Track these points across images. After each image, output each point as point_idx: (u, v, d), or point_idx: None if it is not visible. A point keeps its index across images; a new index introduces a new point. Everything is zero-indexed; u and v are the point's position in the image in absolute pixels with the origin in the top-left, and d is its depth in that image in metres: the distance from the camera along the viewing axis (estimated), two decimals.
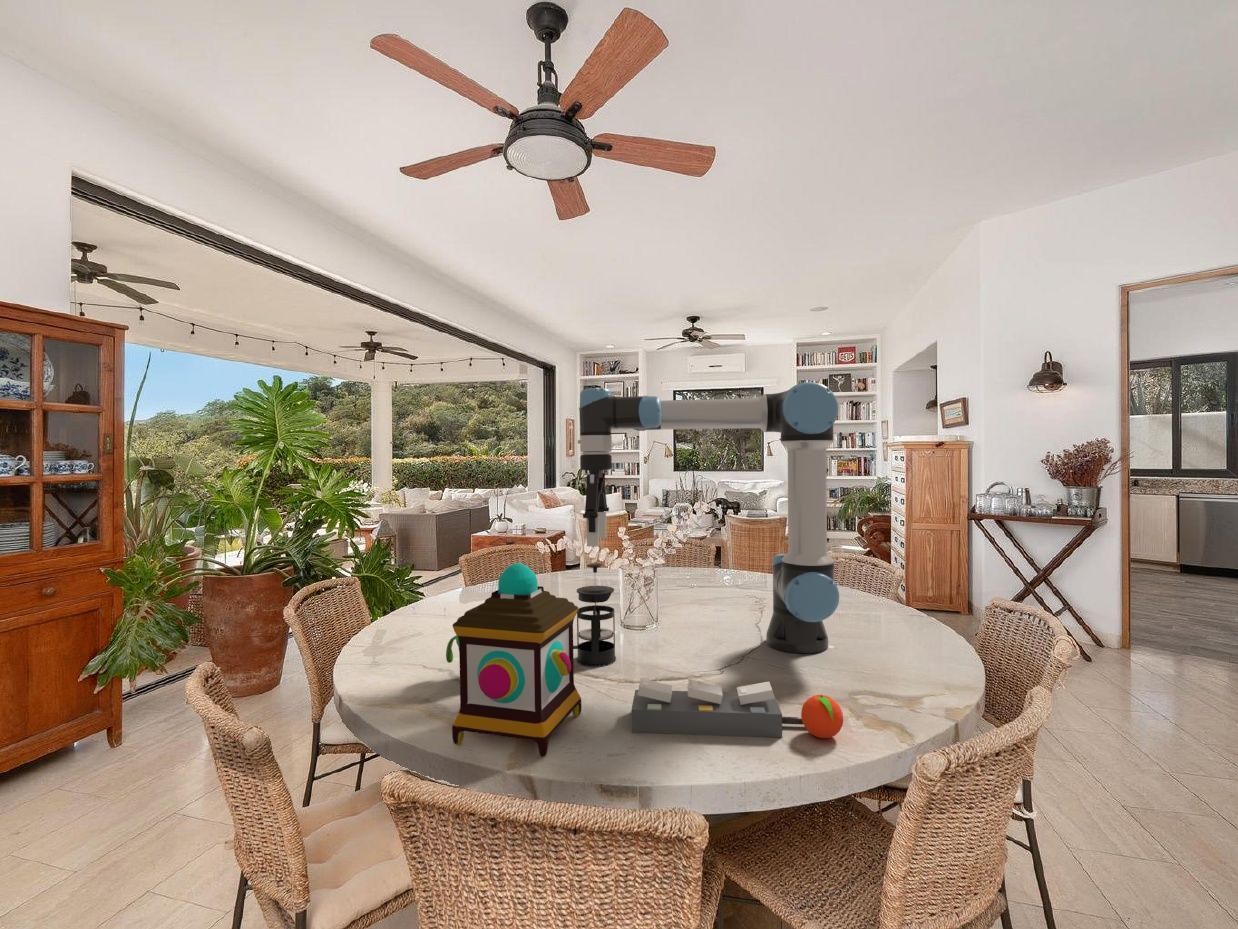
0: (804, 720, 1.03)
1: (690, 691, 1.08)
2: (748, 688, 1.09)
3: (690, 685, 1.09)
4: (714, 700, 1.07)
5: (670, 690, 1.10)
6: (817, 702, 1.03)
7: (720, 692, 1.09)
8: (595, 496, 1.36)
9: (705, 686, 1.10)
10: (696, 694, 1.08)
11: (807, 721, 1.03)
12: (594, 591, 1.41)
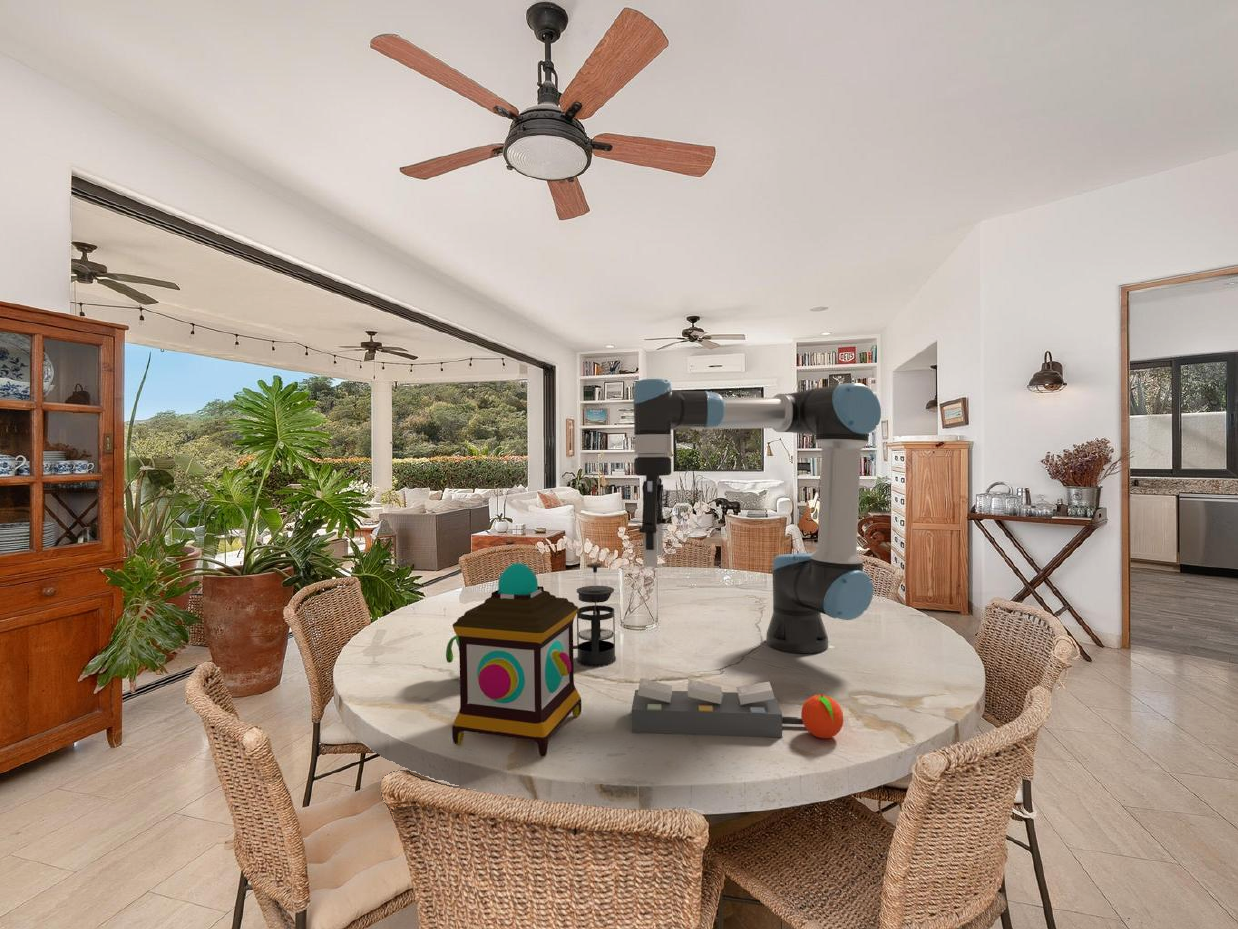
0: (804, 720, 1.03)
1: (690, 691, 1.08)
2: (748, 688, 1.09)
3: (690, 685, 1.09)
4: (714, 700, 1.07)
5: (670, 690, 1.10)
6: (817, 702, 1.03)
7: (720, 692, 1.09)
8: (654, 507, 1.15)
9: (705, 686, 1.10)
10: (696, 694, 1.08)
11: (807, 721, 1.03)
12: (594, 591, 1.41)
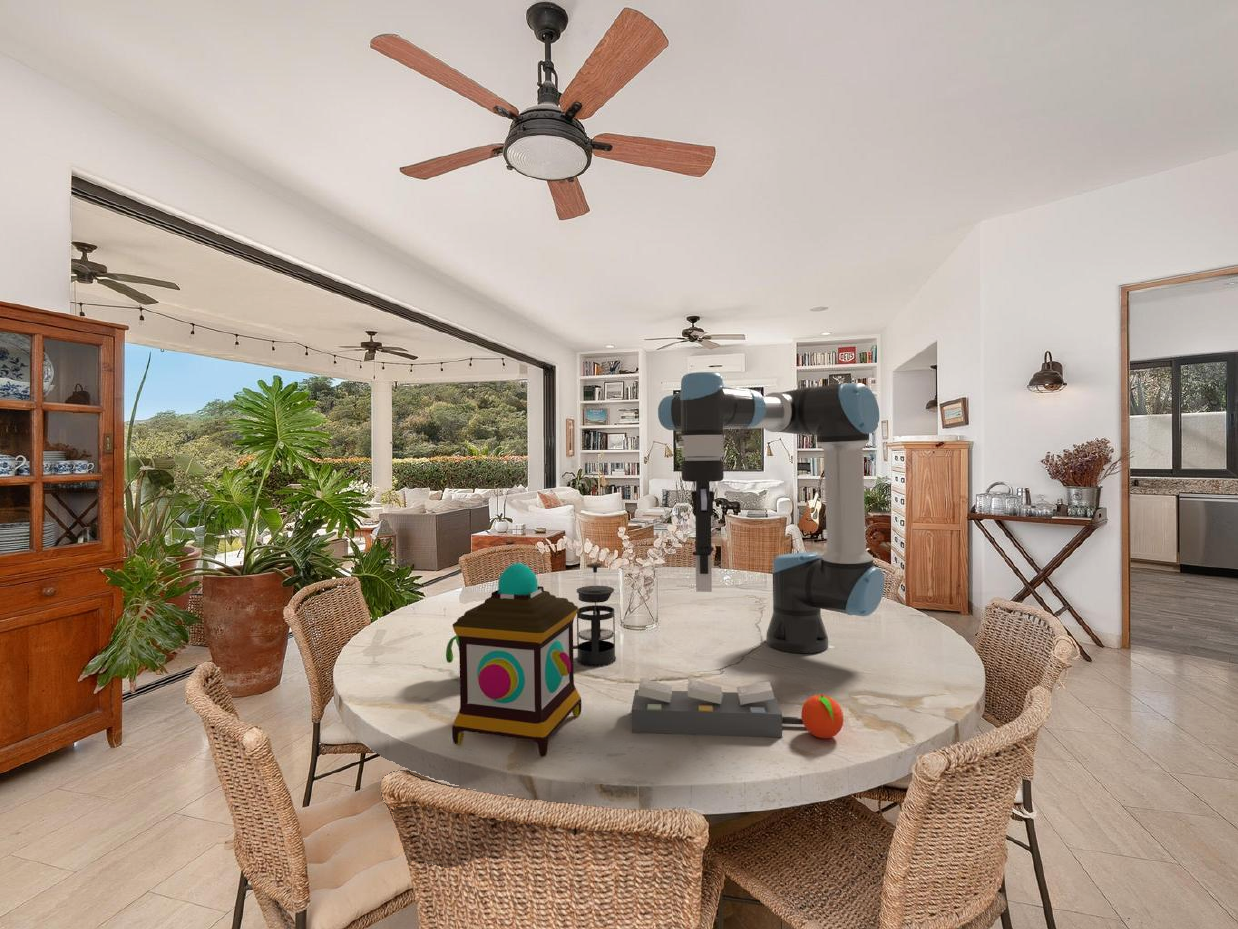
0: (804, 720, 1.03)
1: (690, 691, 1.08)
2: (748, 688, 1.09)
3: (690, 685, 1.09)
4: (714, 700, 1.07)
5: (670, 690, 1.10)
6: (817, 702, 1.03)
7: (720, 692, 1.09)
8: (710, 528, 1.04)
9: (705, 686, 1.10)
10: (696, 694, 1.08)
11: (807, 721, 1.02)
12: (594, 591, 1.41)
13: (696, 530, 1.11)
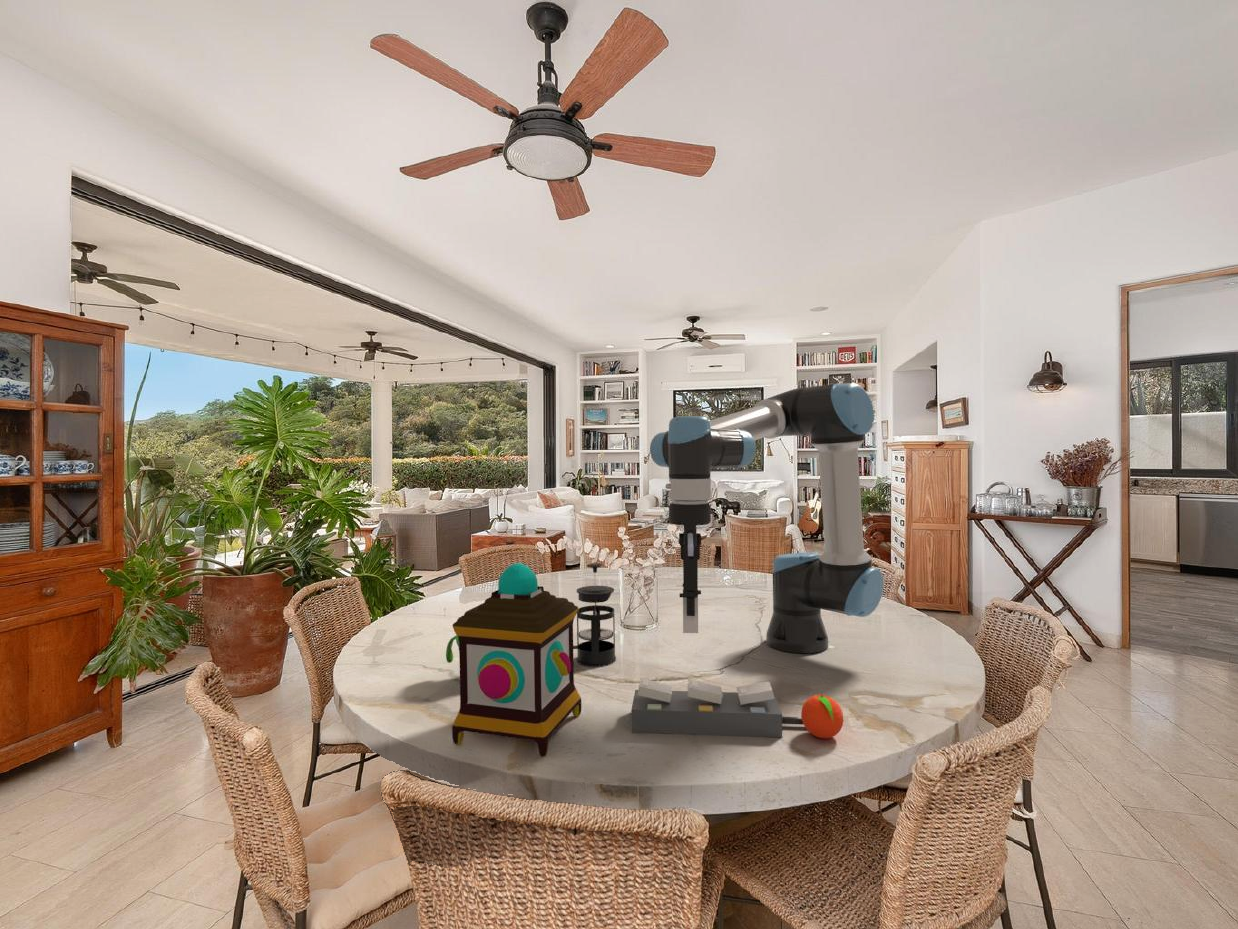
0: (804, 720, 1.03)
1: (690, 691, 1.08)
2: (748, 688, 1.09)
3: (690, 685, 1.09)
4: (714, 700, 1.07)
5: (670, 690, 1.10)
6: (817, 702, 1.03)
7: (720, 692, 1.09)
8: (696, 573, 1.05)
9: (705, 686, 1.10)
10: (696, 694, 1.08)
11: (807, 721, 1.03)
12: (594, 591, 1.41)
13: (683, 573, 1.10)
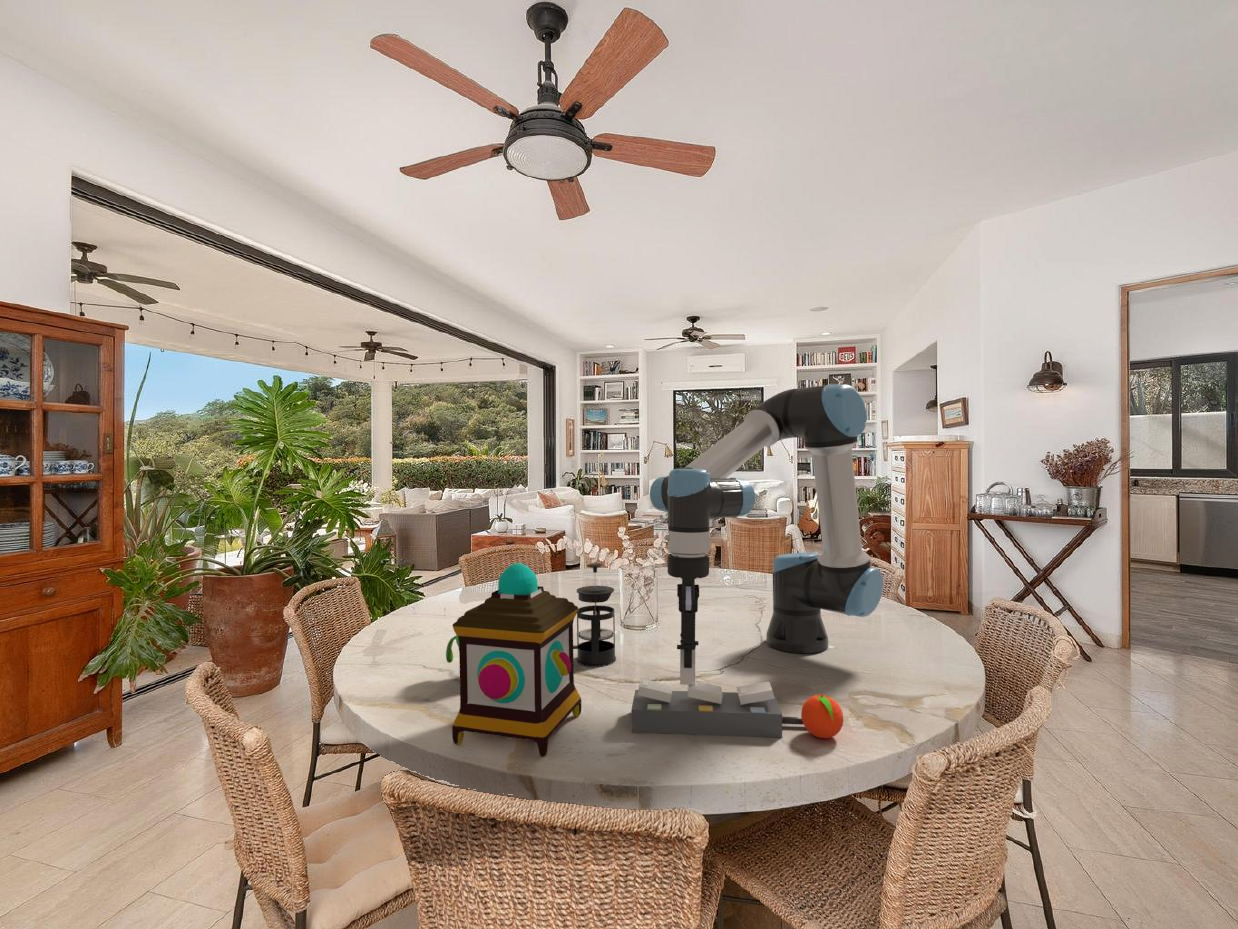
0: (804, 720, 1.03)
1: (690, 691, 1.08)
2: (748, 688, 1.09)
3: (690, 685, 1.09)
4: (714, 699, 1.07)
5: (670, 690, 1.10)
6: (817, 702, 1.03)
7: (720, 691, 1.09)
8: (694, 627, 1.05)
9: (705, 686, 1.10)
10: (696, 694, 1.08)
11: (807, 721, 1.03)
12: (594, 591, 1.41)
13: None
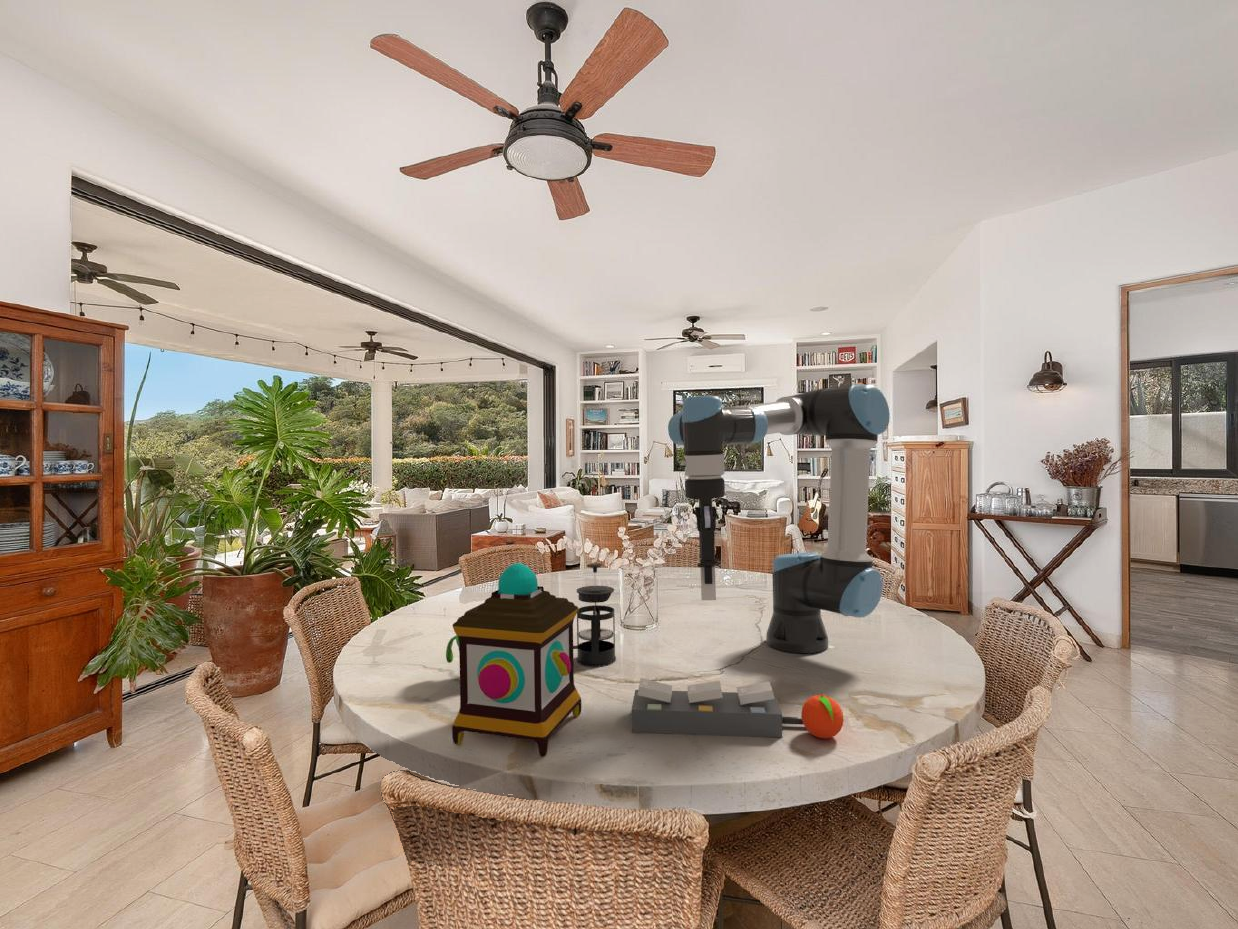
0: (804, 720, 1.03)
1: (690, 697, 1.08)
2: (748, 688, 1.09)
3: (688, 691, 1.09)
4: (715, 696, 1.07)
5: (670, 690, 1.10)
6: (817, 702, 1.03)
7: (718, 685, 1.09)
8: (713, 544, 1.11)
9: (703, 686, 1.10)
10: (697, 697, 1.08)
11: (807, 721, 1.02)
12: (594, 591, 1.41)
13: (700, 544, 1.17)
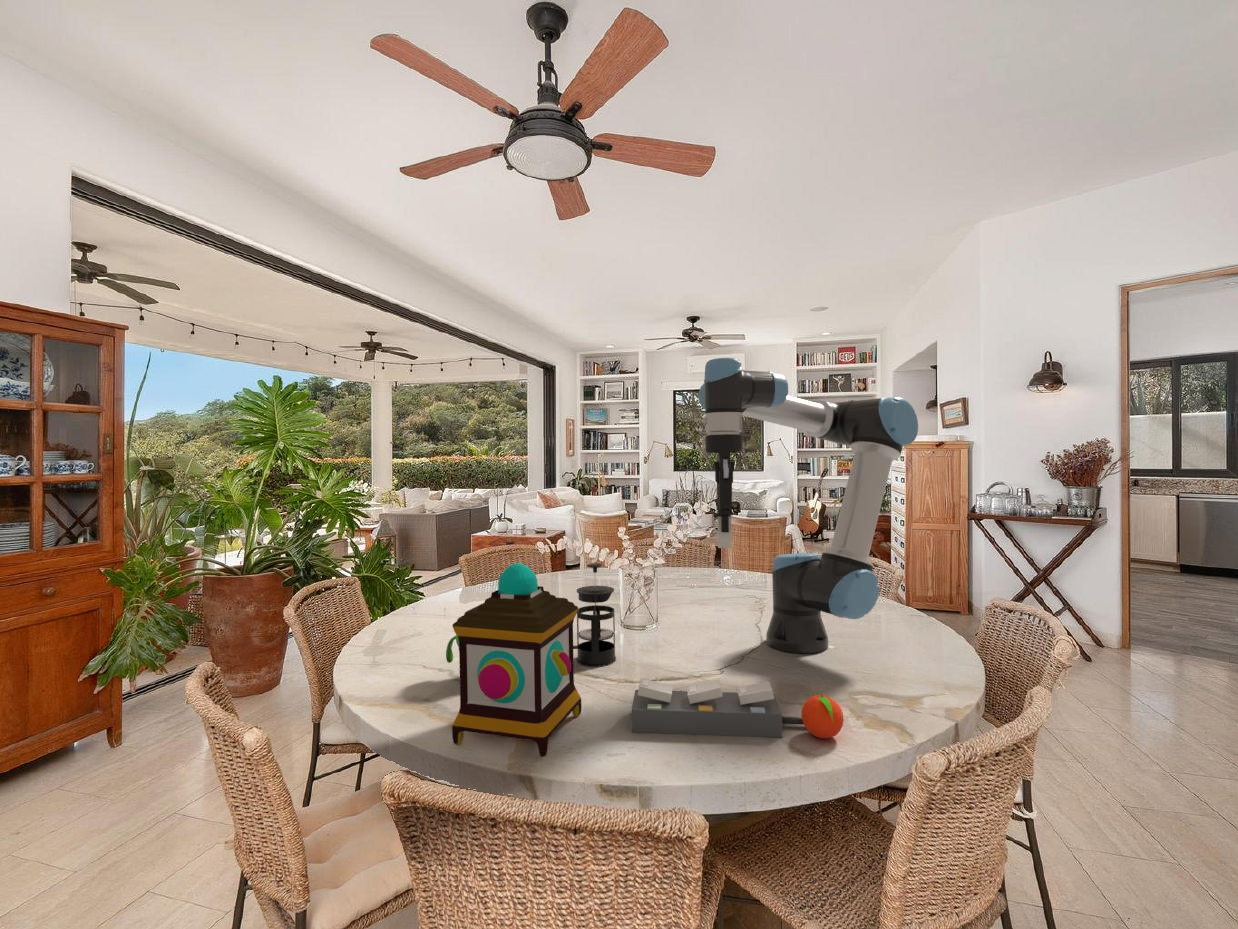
0: (804, 720, 1.03)
1: (690, 698, 1.08)
2: (748, 688, 1.09)
3: (688, 692, 1.09)
4: (715, 695, 1.07)
5: (670, 690, 1.10)
6: (817, 702, 1.03)
7: (718, 685, 1.09)
8: (731, 493, 1.21)
9: (703, 686, 1.10)
10: (697, 698, 1.08)
11: (807, 721, 1.02)
12: (594, 591, 1.41)
13: (718, 496, 1.26)
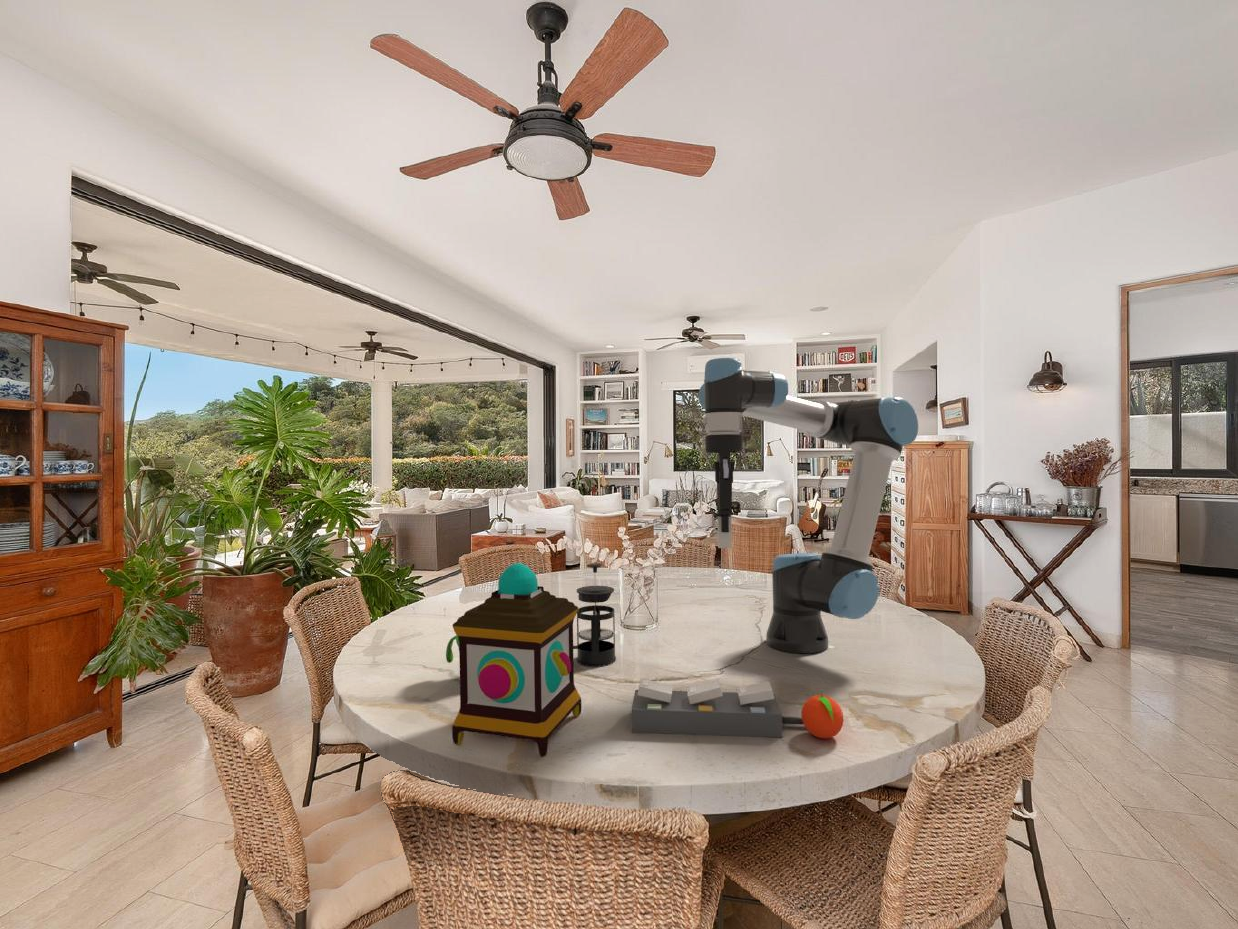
0: (804, 720, 1.03)
1: (690, 698, 1.08)
2: (748, 688, 1.09)
3: (688, 693, 1.09)
4: (715, 695, 1.07)
5: (670, 690, 1.10)
6: (817, 702, 1.03)
7: (718, 684, 1.09)
8: (731, 493, 1.21)
9: (703, 686, 1.10)
10: (697, 698, 1.08)
11: (807, 721, 1.02)
12: (594, 591, 1.41)
13: (718, 496, 1.26)
